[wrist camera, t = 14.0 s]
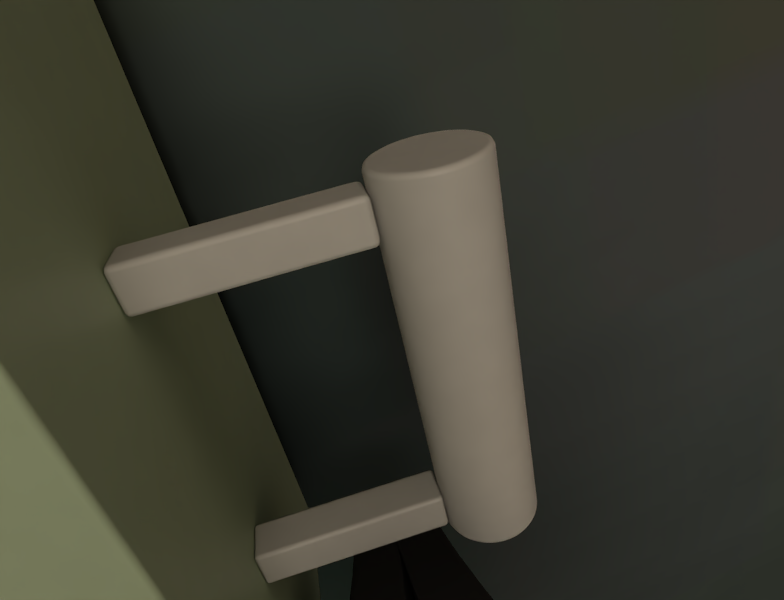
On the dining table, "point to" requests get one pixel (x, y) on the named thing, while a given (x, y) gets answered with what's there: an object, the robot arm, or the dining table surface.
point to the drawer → (219, 346)
